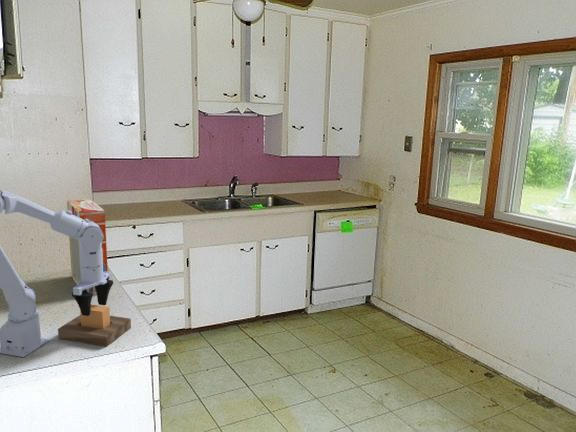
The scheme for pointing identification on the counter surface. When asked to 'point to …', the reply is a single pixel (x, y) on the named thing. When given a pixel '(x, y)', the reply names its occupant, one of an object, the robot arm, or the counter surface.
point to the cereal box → (83, 211)
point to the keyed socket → (94, 331)
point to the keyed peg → (96, 317)
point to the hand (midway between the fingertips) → (94, 309)
